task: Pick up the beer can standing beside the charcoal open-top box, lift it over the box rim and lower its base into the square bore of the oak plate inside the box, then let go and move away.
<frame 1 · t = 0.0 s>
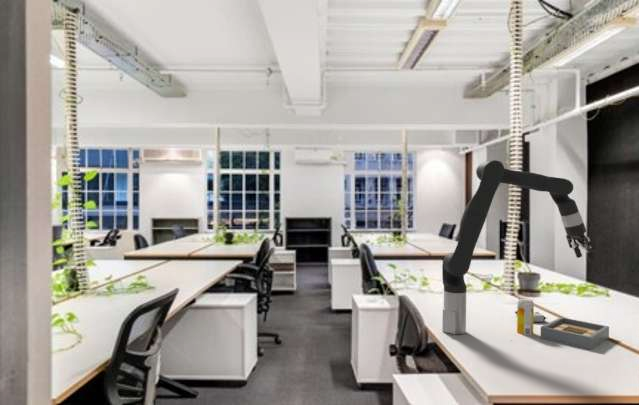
hand: (585, 258, 190), 31 cm above the table, tool tilted 20°, fingers open, 8 cm apart
open-top box: (574, 340, 178), on the table
beer can: (524, 335, 184), on the table
robot toy: (529, 321, 206), on the table
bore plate: (574, 337, 178), resting on open-top box
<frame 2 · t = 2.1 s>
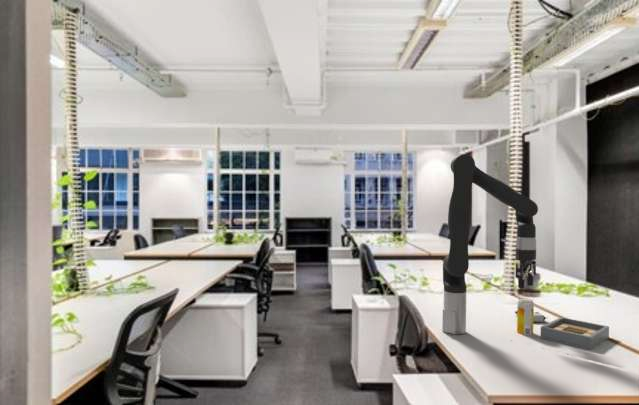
hand: (525, 286, 184), 20 cm above the table, tool pointing down, fingers open, 8 cm apart
nothing on the table moved.
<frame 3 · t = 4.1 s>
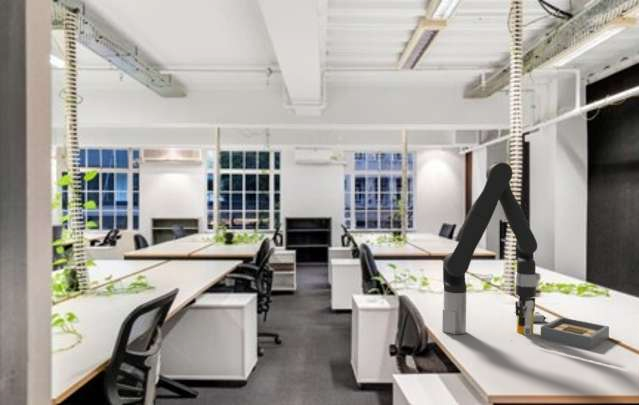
hand: (525, 324, 184), 5 cm above the table, tool pointing down, fingers closed on beer can, 6 cm apart
beer can: (524, 335, 184), on the table, touching gripper
everything else where it was.
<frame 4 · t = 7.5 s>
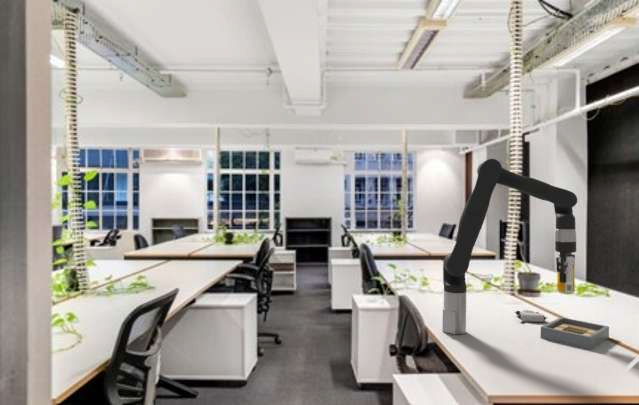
hand: (565, 281, 179), 24 cm above the table, tool pointing down, fingers closed on beer can, 6 cm apart
beer can: (565, 293, 179), point 19 cm above the table, touching gripper
everything else where it was.
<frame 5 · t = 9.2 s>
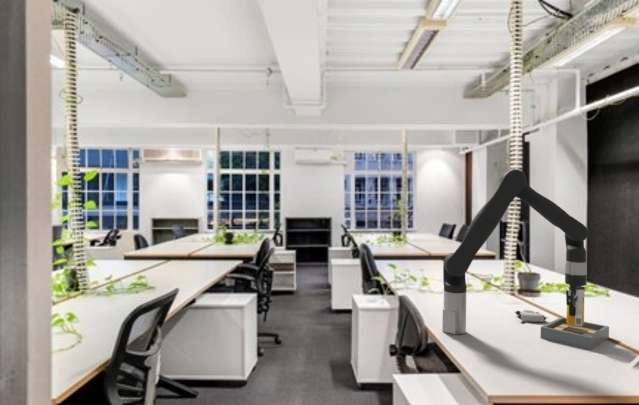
hand: (575, 314, 178), 11 cm above the table, tool pointing down, fingers closed on beer can, 6 cm apart
beer can: (575, 325, 178), point 6 cm above the table, touching gripper
everything else where it was.
when the fingers open (7 cm above the table, at t = 10.8 s): beer can drops 1 cm, resting on open-top box.
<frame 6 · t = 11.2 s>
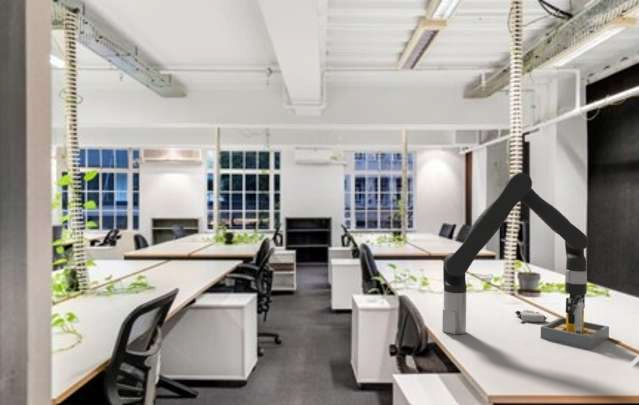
hand: (575, 321, 178), 8 cm above the table, tool pointing down, fingers open, 8 cm apart
beer can: (574, 338, 178), point 1 cm above the table, touching open-top box
everything else where it was.
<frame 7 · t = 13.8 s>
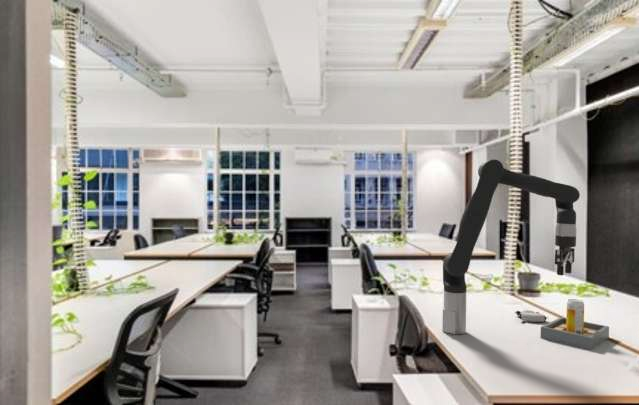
hand: (564, 274, 181), 26 cm above the table, tool pointing down, fingers open, 8 cm apart
nothing on the table moved.
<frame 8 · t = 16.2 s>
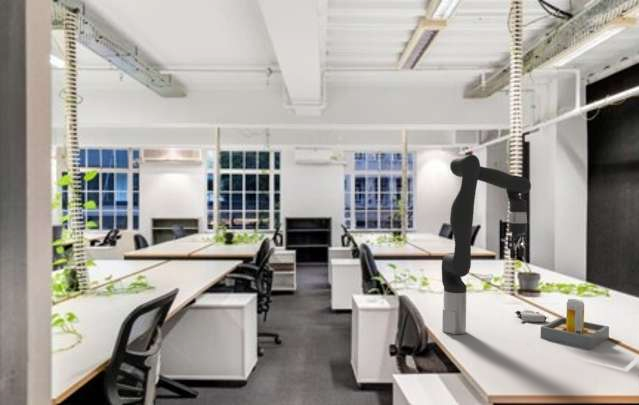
hand: (517, 257, 200), 30 cm above the table, tool pointing down, fingers open, 8 cm apart
nothing on the table moved.
at the end: beer can 0.1 cm off-centre on the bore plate, point 0.0 cm above the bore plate's base; beer can tilted 0°; the gripper is holding nothing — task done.
